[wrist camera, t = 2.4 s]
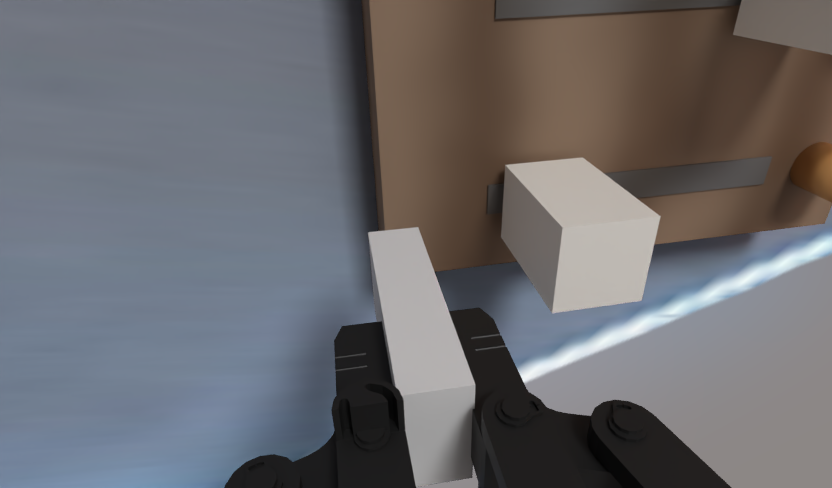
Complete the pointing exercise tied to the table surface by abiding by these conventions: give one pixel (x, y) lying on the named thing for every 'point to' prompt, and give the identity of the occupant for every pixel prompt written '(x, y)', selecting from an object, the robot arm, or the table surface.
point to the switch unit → (591, 115)
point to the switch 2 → (787, 23)
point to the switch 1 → (577, 233)
